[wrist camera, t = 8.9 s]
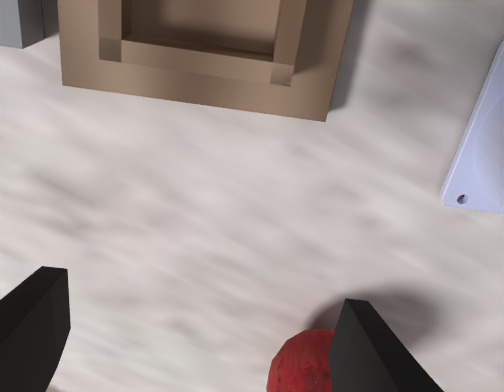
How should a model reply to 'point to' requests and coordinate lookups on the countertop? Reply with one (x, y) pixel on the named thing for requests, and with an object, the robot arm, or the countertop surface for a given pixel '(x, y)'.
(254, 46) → the board
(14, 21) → the stand
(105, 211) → the countertop surface
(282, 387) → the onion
